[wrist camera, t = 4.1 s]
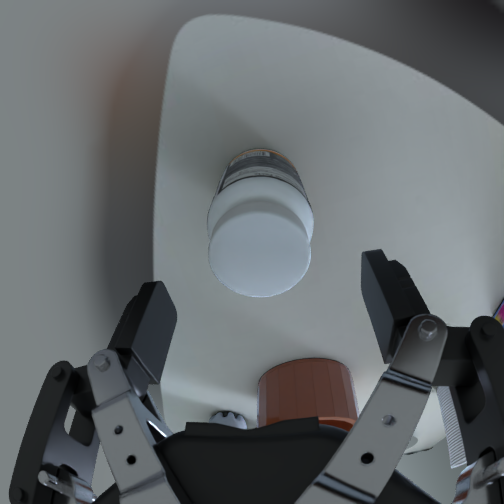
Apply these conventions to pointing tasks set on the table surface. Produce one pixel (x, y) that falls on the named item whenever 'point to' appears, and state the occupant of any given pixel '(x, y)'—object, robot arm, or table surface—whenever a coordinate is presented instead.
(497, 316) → the ink cartridge box
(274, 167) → the pill bottle
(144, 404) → the robot arm
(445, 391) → the cup
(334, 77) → the table surface
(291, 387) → the crock
